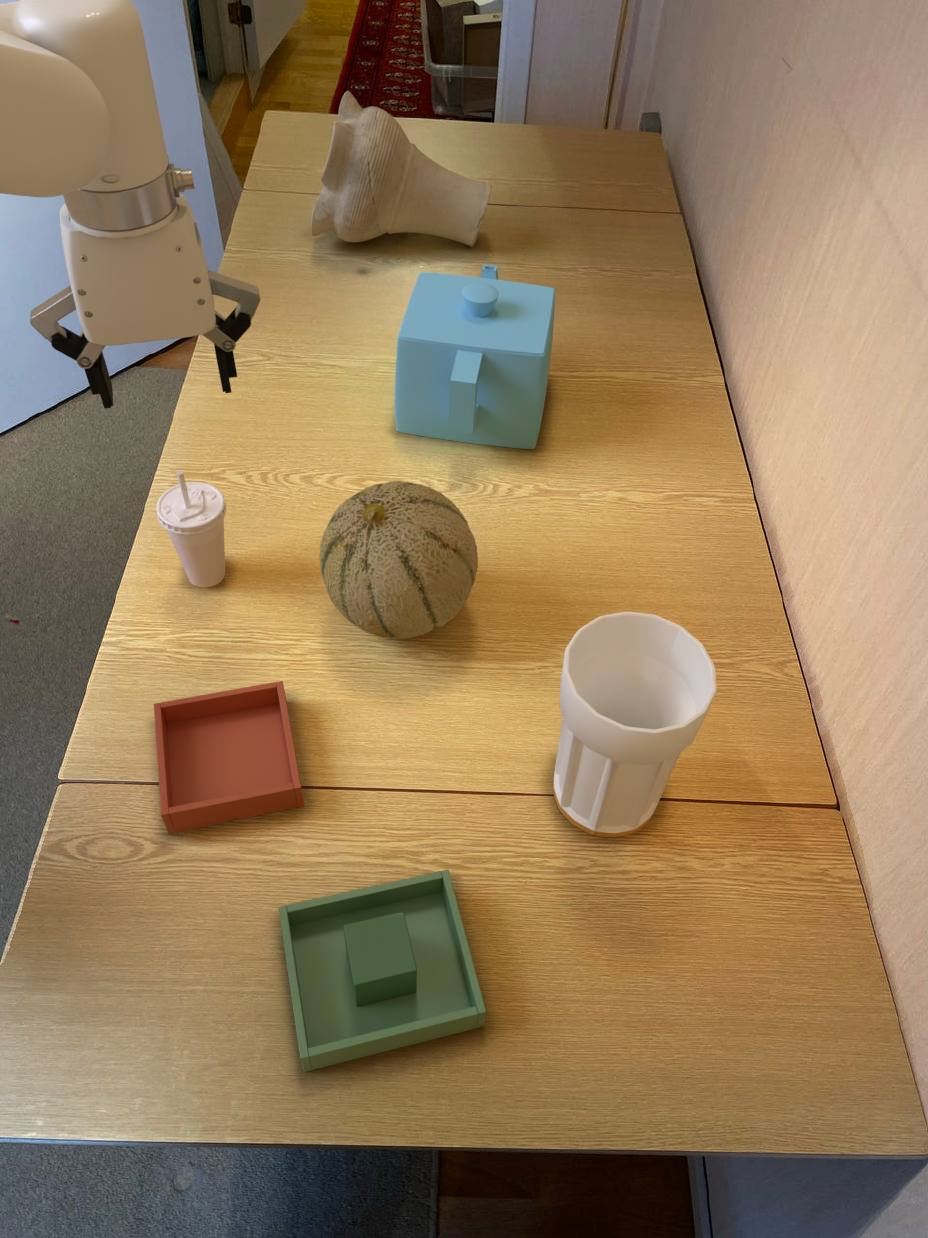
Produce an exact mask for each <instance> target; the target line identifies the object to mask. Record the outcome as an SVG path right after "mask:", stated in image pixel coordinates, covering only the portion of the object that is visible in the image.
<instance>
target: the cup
mask: <svg viewBox="0 0 928 1238" xmlns="http://www.w3.org/2000/svg"><path fill="white" fill-rule="evenodd" d="M561 669H562V670H561V676H560V683H559V684H560V685H559V703H558V707H559V709H560V712H561V714H562V717H561V724H560V725H561V726H560V733H559V737H558V738H559V739H558V740H559V741H558V746H557V752H556V759H555V765H554V773H553V780H552V793H553V797H554V800H555V803H556V805H557V808H558V810H559V811H560V813H561V814H562V815H563V816H564V817H565V819H567V821H569V822H570V823H571V824H572V825H573V826H575V827H576V828H578V829H579V830H581V831H583V832H585V833H588V834H589V835H592V836H594V837H595V836H596V837H602V838H619V837H625V836H629V835H632V834H635V833H636V832H638V831H640V830H641V829H642V828H643V827H644V826H645V825H647V824H648V823H649V822H650V820H651V818H652V817H653V815H654V813H655V811H656V809H657V807H658V804H659V802H660V801H661V798H662V796H663V794H664V791H665V789H666V786H667V784H668V782H669V780H670V778H671V775H672V773H673V771H674V769H675V766H676V765H677V762H678V760H679V758H680V756H681V753H682V752H684V751H685V750H686V749H688V747H690V746H692V744H693V742H694V740H695V738H696V736H697V735H698V733H699V731H700V729H701V727H702V725H703V723H704V721H705V719H706V716H707V714H708V712H709V710H710V707H711V705H712V704H713V702H714V699H715V697H716V695H717V693H718V686H717V685H718V684H717V671H716V670H717V669H716V666H715V664H714V662H713V660H712V658H711V656H710V655H709V652H708V651H707V649H706V647H705V646H704V644H703V643H702V642H701V641H699V639H697V638H696V637H695V636H693V634H692V633H690V632H689V631H688V630H687V629H686V628H684V627H683V626H682V625H681V624H677V623H675V622H673V621H671V620H669V619H666V618H664V617H661V616H659V615H657V614H653V613H643V612H635V611H628V610H627V611H626V610H625V611H620V612H616V613H609V614H605V615H599V616H598V617H596V618H595V619H593V620H591V621H590V622H588V623H587V624H585V625H584V626H582V627H580V628H578V629H577V630H576V632H575V634H574V635H573V637H572V638H571V639H570V641H569V643H568V644H567V646H566V647H565V649H564V655H563V663H562V668H561Z"/></svg>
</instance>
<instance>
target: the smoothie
mask: <svg viewBox="0 0 928 1238" xmlns="http://www.w3.org/2000/svg"><path fill="white" fill-rule="evenodd" d="M176 475H177V476H176V477H177V479H178V484H176V485H174V486H172V487H170V488H168V489H167V490H166V491H164V492H163V493H162V494H161V495H160V497H159V498H158V500H157V502H156V506H155V507H156V513H157V520H158V522H159V524H160V525H161V526H162V527H163V528H164V529H165V530H166V532H167V535H168V536H169V538H170V541H171V543H172V545H173V548H174V550H175V552H176V554H177V556H178V559H179V561H180V563H181V565H182V568H183V570H184V572H185V574H186V576H187V579H188V581H189V582H190V584H192V585H193V586H195V587H197V588H211V587H212V588H213V587H215V586H216V585H219V584H220V583H221V582H222V581H223V580H224V578H225V577H226V551H225V550H226V549H225V547H226V546H225V516H226V514H227V503H226V500H225V496H224V495H223V493H222V491H221V490H220V489H219V488H217V487H216V486H214V485H213V484H210V483H207V482H199V481H189V482H186V478H185V475H184V471H183V470H182V469H179V470H177V471H176Z"/></svg>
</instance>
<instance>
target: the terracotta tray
mask: <svg viewBox="0 0 928 1238" xmlns="http://www.w3.org/2000/svg"><path fill="white" fill-rule="evenodd" d="M153 716H154V717H153V718H154V728H155V729H154V730H155V745H156V755H157V756H156V758H157V761H156V762H157V773H158V774H157V775H158V787H159V788H158V789H159V801H160V802H159V804H160V815H161V818H162V821H163V822H164V826H165V828H166V831H167V833H168V834H174V833H178V832H184V831H188V830H193V829H197V828H204V827H207V826H208V827H209V826H212V825H218V824H222V823H227V822H233V821H238V820H242V819H247V818H253V817H257V816H262V815H267V814H272V813H277V812H281V811H287V810H292V809H297V808H301V807H305V802H304V795H303V789H302V783H301V777H300V772H299V771H300V770H299V765H298V761H297V753H296V748H295V743H294V737H293V732H292V726H291V721H290V714H289V708H288V703H287V696H286V691H285V686H284V681H283V680H279V681H274V682H268V683H262V684H256V685H251V686H246V687H240V688H239V687H238V688H234V689H229V690H223V691H217V692H212V693H207V694H206V693H205V694H200V695H194V696H190V697H189V696H188V697H183V698H177V699H172V700H166V701H161V702H156V703H153Z"/></svg>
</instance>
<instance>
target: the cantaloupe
mask: <svg viewBox="0 0 928 1238" xmlns="http://www.w3.org/2000/svg"><path fill="white" fill-rule="evenodd" d="M477 546H478V545H477V544H476V539H475V535H474V534H473V532H472V531H471V529H470V526H469V524H468V519H466V518H465V516H464V514H463V513H462V512H461V510H460V508H459V507H457V505H456V504H455V503H454V502H453V501H452V500H451V499H449V498H448V497H447V496H446V495H444V494H443V493H442V492H440V491H438V490H436V489H434V488H431V487H430V486H427V485H425V484H424V485H423V484H421V483H414V482H409V481H401V480H393V481H388V482H384V483H382V482H381V483H375V484H372V485H370V486H367V487H365V488H364V489H362V490H360V491H358V492H357V493H355V494H353V495H351V496H350V497H348V498H347V499H345V500H344V501H342V502H341V503H340V505H338V506H337V508H336V510H335V511H334V512H333V513H332V515H331V518H330V520H329V521H328V523H327V526H326V528H325V530H324V531H323V534H322V536H321V541H320V544H319V557H318V558H319V567H320V573H321V577H322V580H323V583H324V585H325V589H326V592H327V595H328V596H329V599H330V601H331V603H332V604H333V605H334V607H335V609H336V610H337V611H338V612H339V613H340V614H341V615H342V616H343V618H344V619H346V620H347V621H348V622H350V623H351V624H352V625H354V626H355V627H357V628H358V629H360V630H362V631H364V632H365V633H367V634H371V635H373V636H376V637H381V638H386V639H411V638H416V637H419V636H423V635H426V634H429V633H430V632H432V631H434V630H436V629H439V628H442V627H443V626H444V625H445V624H447V623H448V622H450V621H451V620H452V619H453V618H455V617H456V616H457V615H458V614H459V613H460V612H461V610H462V608H463V607H464V605H466V602H467V601H468V599H469V598H470V595H471V591H472V589H473V587H474V585H475V582H476V577H477V573H478V567H479V558H478V547H477Z"/></svg>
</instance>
